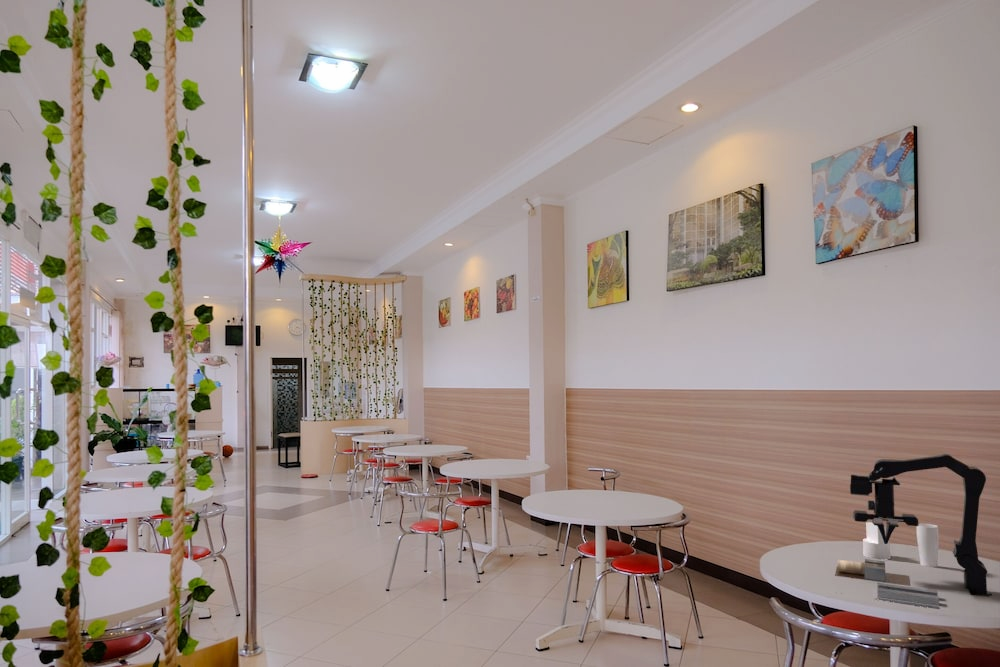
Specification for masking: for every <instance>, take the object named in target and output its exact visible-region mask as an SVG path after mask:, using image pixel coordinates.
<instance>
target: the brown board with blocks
mask: <svg viewBox="0 0 1000 667" xmlns="http://www.w3.org/2000/svg"><path fill="white" fill-rule="evenodd" d="M864 563H870V564H878V565H884V567H879V566H871V565H865V566H864V570H865V575H861V574H853V573H845V572H838V566H836V568H835V573H834V576H835V577H840V578H841V577H842V578H847V579H848V578H849V579H856V580H862V581H863V580H864V581H872V582H877V583H884V584H892V585H899V586H907V587H911V582H910V581H911V580H910V576H909V575H908V574H907V575H905V574H898V573H890V572H886V560H878V559H870V558H865V559H864Z"/></svg>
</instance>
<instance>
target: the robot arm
mask: <svg viewBox="0 0 1000 667" xmlns="http://www.w3.org/2000/svg"><path fill="white" fill-rule="evenodd" d="M942 468H946V469H948V470H950V471H951V472H953V473H955V474H956V475H958V476H960V477H961V478H962V485H963V491H964V499H963V500H964V501H963V503H964V504H963V510H962V511H963V514H962V524H961V536H960V538H959V541H957V540H956V539H955V540H954V539H953V544H954V545H953V546H954V548H953V550H952V554H953V556H954V558H955V560H956V562H957V564H958V565H959V566H960V567H961V568H963V585H964V589H965V590H967V591H968V592H969V594H970V595H972V596H993V593H992V592H989V591H988V589H987V587H988V586H987V585H988V584H987V574H988V570H987V568H986V566H985V564H984V563H983V562H982V561H981V560H980V559H979V553H978V546H977V541H976V540H977V530H978V529H977V528H978V519H979V517H978V516H979V505H980V497H981V495H982V493H983V492H984V491H983V490H984V488H985V485H986V481H987V476H986V474H985V473H984V472H983V471H982V469H980V468H979V467H976V466H969V465H967V464H966V463H964V462H962V461H960V460H958V459H956V458H954V457H953V456H952V455H950V454H947V453H943V454H941V455H935V456H934V455H933V456H925V457H918V458H911V459H891V458H886V459H884V458H883V459H882V458H881V459H878V460H876V461H875V463H874V465H873V470H872V471H871V472H869V474H868V475H866V476H865V475H858V474H851V475H850V485H849V489H850V491H849V492H850V495H851V496H852V495H855V496H867V497H870V494H872V493H873V484H874V500H867V511H873V514H872V513H868V512H867V511H866V510H858V509H857V510H856V509H855V510H853V513H852V514H853V516H852V517H853V519H854V521H855V522H862V523H867V522H868V521H869V520H872V521H871V522H872V523H873V524H874V525H877V526H878V528H879V530H880V533H881V536H882V539H883V541H884V544H887V543H888V541H889V542H890V538H891V536H892V534H893V532H894V530H895V529H896V528H899V523H904V524H905V525H907V526H910V527H916V526H918V524H919V518H918V517H917V516H916V515H915V514H910V513H909V514H908V513H902V514H901V515H895V486H901V482H900V481H898V480H897V479H896V477H895V476H898V475H901V474H904V473H909V472H915V471H918V472H919V471H923V470H925V471H927V470H932V469H933V470H934V469H942ZM891 477H892V478H891ZM889 478H890V479H889ZM880 479H881V480H880ZM883 521H884V522H885V521H886V522H885V523H886V525H885V524H884V523H883ZM885 526H886V527H885ZM884 527H885V528H886V536H885V529H884Z"/></svg>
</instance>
